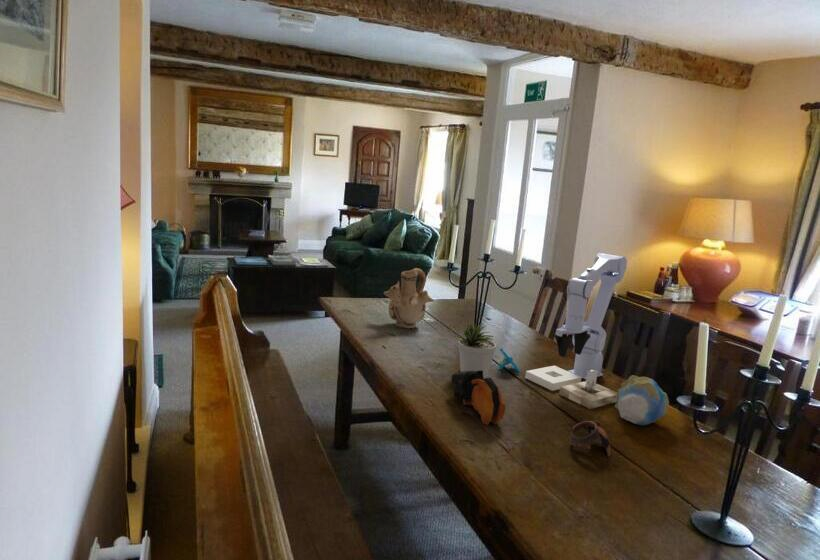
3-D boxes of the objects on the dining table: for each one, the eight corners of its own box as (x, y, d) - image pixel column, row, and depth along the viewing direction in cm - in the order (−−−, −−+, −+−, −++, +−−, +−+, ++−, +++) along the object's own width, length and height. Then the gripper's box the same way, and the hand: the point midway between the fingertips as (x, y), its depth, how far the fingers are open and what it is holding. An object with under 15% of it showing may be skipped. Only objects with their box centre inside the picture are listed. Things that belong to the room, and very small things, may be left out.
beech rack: (587, 387, 185) (588, 380, 185) (618, 401, 176) (620, 393, 175) (559, 394, 177) (560, 386, 177) (590, 409, 168) (591, 401, 167)
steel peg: (586, 394, 179) (590, 368, 177) (595, 398, 177) (599, 371, 175) (581, 397, 176) (585, 370, 175) (590, 400, 175) (595, 373, 173)
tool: (472, 420, 171) (469, 370, 173) (511, 424, 150) (507, 367, 152) (448, 422, 168) (445, 371, 170) (484, 427, 147) (480, 369, 149)
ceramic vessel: (381, 319, 247) (385, 264, 242) (422, 320, 252) (427, 265, 247) (388, 332, 230) (393, 272, 225) (433, 332, 234) (438, 274, 229)
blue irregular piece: (523, 372, 190) (504, 349, 190) (510, 383, 191) (491, 360, 191) (518, 365, 201) (500, 344, 201) (505, 375, 202) (488, 354, 202)
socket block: (553, 372, 197) (554, 365, 197) (580, 384, 188) (581, 377, 187) (525, 377, 190) (526, 371, 189) (552, 390, 180) (553, 383, 179)
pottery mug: (612, 465, 137) (600, 437, 135) (575, 469, 141) (562, 443, 140) (615, 434, 147) (604, 408, 145) (581, 439, 151) (569, 414, 150)
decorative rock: (635, 376, 153) (680, 377, 157) (600, 373, 168) (642, 374, 172) (636, 428, 151) (682, 428, 155) (601, 420, 166) (643, 419, 170)
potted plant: (454, 366, 195) (459, 311, 191) (493, 372, 193) (500, 316, 189) (449, 379, 183) (454, 320, 179) (491, 385, 180) (498, 325, 177)
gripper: (580, 310, 189) (574, 349, 191) (550, 313, 181) (545, 353, 183) (597, 316, 183) (591, 355, 186) (568, 319, 175) (562, 360, 178)
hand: (569, 355), depth 184 cm, fingers open, 7 cm apart
